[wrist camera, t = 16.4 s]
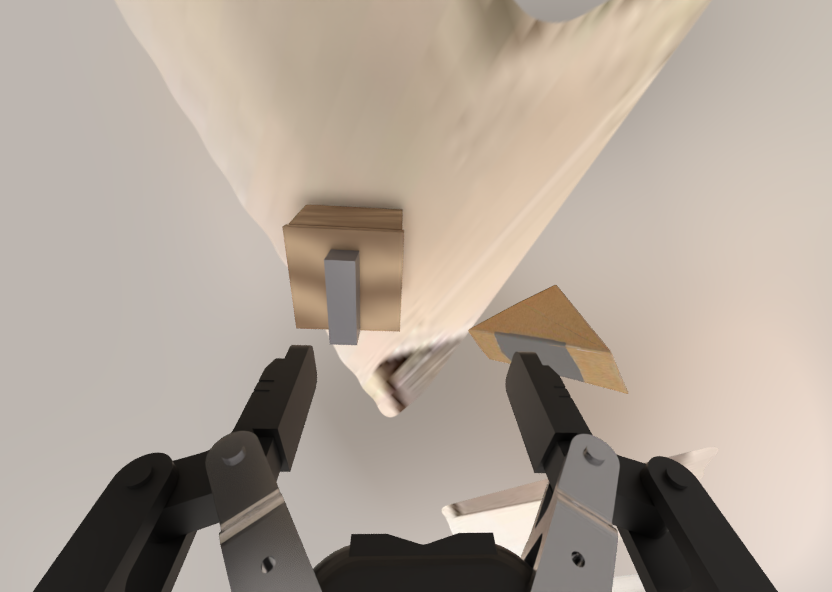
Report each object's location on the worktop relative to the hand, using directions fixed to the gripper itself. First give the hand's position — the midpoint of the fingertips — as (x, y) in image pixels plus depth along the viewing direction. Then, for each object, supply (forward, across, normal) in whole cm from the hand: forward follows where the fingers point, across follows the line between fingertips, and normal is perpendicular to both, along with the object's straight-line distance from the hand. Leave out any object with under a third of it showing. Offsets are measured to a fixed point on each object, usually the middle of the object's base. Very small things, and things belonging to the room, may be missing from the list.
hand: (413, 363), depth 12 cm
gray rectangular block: (+21, +6, +10) cm, 24 cm away
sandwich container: (+30, -19, +21) cm, 42 cm away
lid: (+22, +7, +9) cm, 25 cm away
